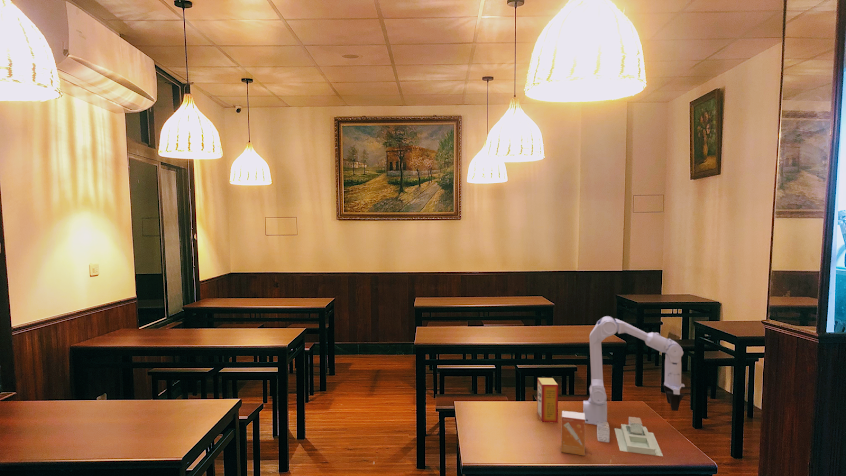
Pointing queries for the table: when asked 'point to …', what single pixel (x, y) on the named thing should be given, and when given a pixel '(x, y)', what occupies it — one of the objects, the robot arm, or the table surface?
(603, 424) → the block
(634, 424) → the block
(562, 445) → the small box
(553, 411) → the baking soda box
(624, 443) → the cream stepped base
